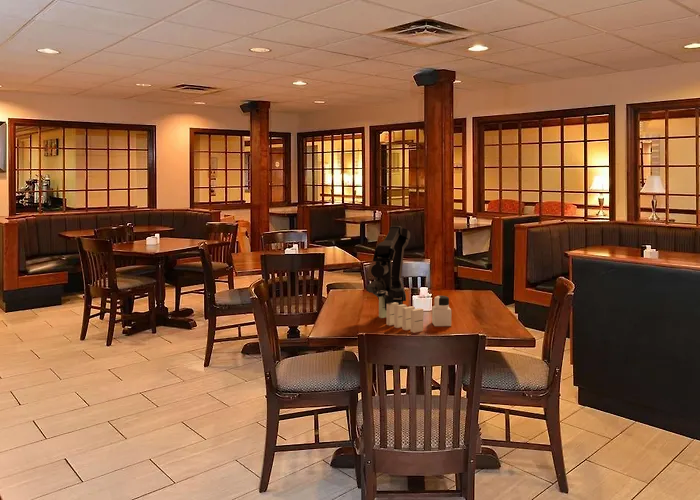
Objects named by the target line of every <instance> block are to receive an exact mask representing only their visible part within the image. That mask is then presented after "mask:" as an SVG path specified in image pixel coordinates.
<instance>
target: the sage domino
mask: <svg viewBox="0 0 700 500" xmlns="http://www.w3.org/2000/svg"><path fill="white" fill-rule="evenodd" d="M378 318H380V319H384V318H386V310H385V299H384V297H383V296H380V297H379V299H378Z"/></svg>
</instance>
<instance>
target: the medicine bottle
mask: <svg viewBox="0 0 700 500" xmlns="http://www.w3.org/2000/svg"><path fill="white" fill-rule="evenodd" d="M433 301H434V305H432V306H431V323H432V325H433V326H434V327H452V308H450V297H449V296H446V295H437V296H435V297H434V300H433Z"/></svg>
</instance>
